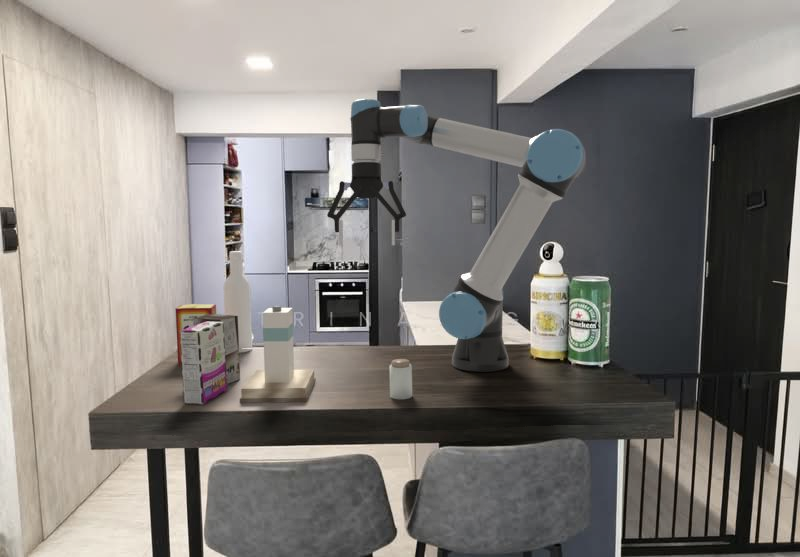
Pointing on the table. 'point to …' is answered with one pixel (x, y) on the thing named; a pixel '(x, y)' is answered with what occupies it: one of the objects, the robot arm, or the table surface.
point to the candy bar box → (203, 362)
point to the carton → (278, 344)
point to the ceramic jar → (400, 379)
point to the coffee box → (227, 342)
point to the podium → (278, 388)
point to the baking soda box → (190, 319)
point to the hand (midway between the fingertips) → (367, 245)
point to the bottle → (239, 300)
